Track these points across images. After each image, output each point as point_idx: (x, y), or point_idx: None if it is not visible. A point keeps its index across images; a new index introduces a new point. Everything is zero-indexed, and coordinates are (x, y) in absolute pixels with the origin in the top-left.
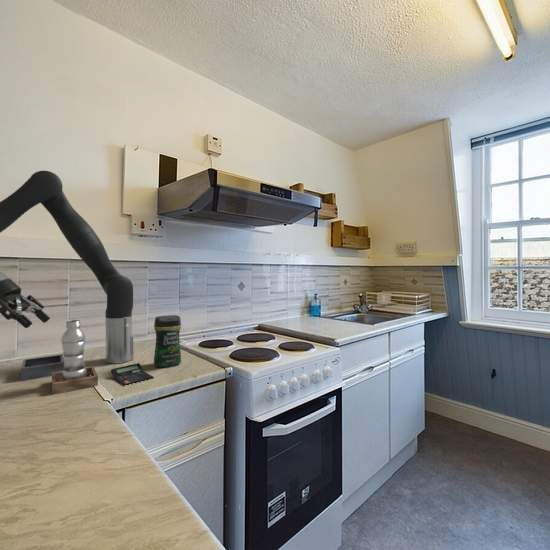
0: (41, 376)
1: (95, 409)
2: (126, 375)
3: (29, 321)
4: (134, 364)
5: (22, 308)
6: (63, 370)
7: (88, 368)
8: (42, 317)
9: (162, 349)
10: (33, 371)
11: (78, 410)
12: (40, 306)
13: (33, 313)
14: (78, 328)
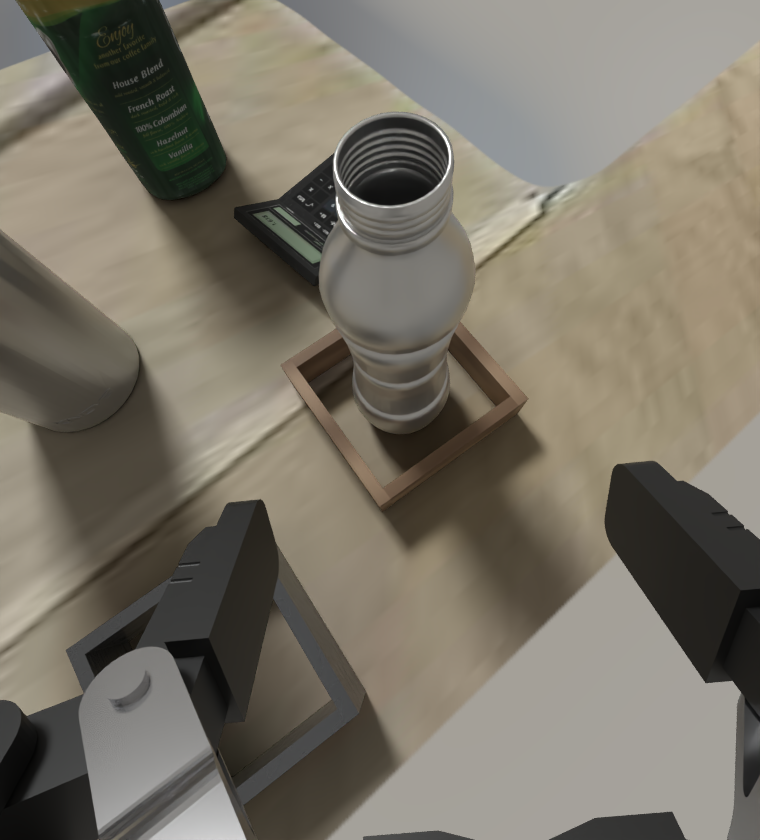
0: (317, 614)
1: (612, 204)
2: (324, 238)
3: (666, 474)
4: (250, 219)
5: (643, 823)
6: (418, 413)
7: (302, 377)
8: (255, 589)
9: (192, 84)
10: (330, 651)
11: (628, 246)
12: (4, 773)
13: (228, 778)
14: (398, 177)
